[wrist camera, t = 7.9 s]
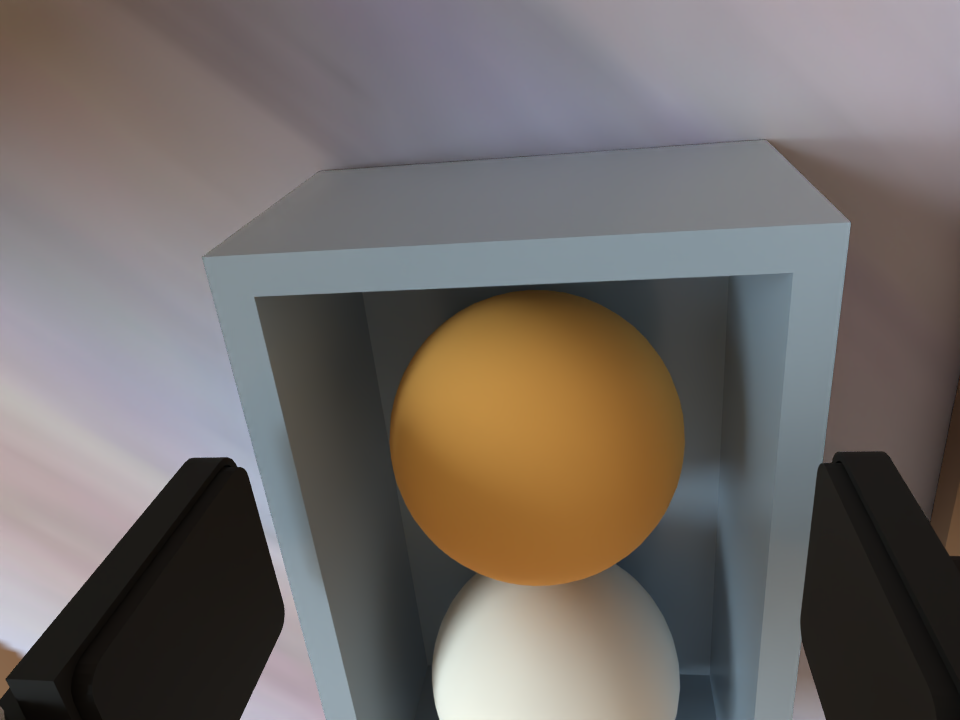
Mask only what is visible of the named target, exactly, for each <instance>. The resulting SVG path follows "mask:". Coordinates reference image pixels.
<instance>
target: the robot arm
mask: <svg viewBox="0 0 960 720" xmlns="http://www.w3.org/2000/svg"><path fill="white" fill-rule="evenodd" d="M284 615H285V613H284V604H283V600H282V596H281V593H280V589H279V585H278V582H277V578H276V575H275V571H274V567H273V564H272V560H271V556H270V553H269V549H268V546H267V542H266V538H265V535H264V531H263V528H262V524H261V520H260V517H259V513H258V510H257V506H256V502H255V499H254V495H253V491H252V488H251V484H250V481H249V477H248V474H247V472H246V471H245V469H244V468H241V467H237V466H236V463H235V462H234V461H233V460H232V459H230V458H228V457H220V458H191V459H189V460H187V461H186V462H185V463H184V464H183V465H182V467H181V468H180V469H179V470H178V471H177V473H176V474H175V475H174V476H173V478H172V479H171V480H170V481H169V482H168V484H167V485H166V486H165V487H164V488H163V490H162V491H161V492H160V493H159V494H158V496H157V497H156V498H155V499H154V500H153V502H152V503H151V504H150V505H149V506H148V508H147V509H146V510H145V511H144V513H143V514H142V515H141V516H140V517H139V519H138V520H137V521H136V522H135V523H134V525H133V526H132V527H131V528H130V529H129V531H128V532H127V533H126V534H125V535H124V537H123V538H122V539H121V540H120V541H119V543H118V544H117V545H116V546H115V548H114V549H113V550H112V551H111V552H110V554H109V555H108V556H107V557H106V558H105V560H104V561H103V562H102V563H101V564H100V566H99V567H98V568H97V569H96V570H95V572H94V573H93V574H92V575H91V576H90V578H89V579H88V580H87V581H86V582H85V584H84V585H83V586H82V587H81V589H80V590H79V591H78V592H77V593H76V595H75V596H74V597H73V598H72V599H71V601H70V602H69V603H68V604H67V605H66V607H65V608H64V609H63V610H62V611H61V613H60V614H59V615H58V616H57V617H56V619H55V620H54V621H53V622H52V624H51V625H50V626H49V627H48V628H47V630H46V631H45V632H44V633H43V634H42V636H41V637H40V638H39V639H38V640H37V642H36V643H35V644H34V645H33V646H32V648H31V649H30V650H29V651H28V652H27V654H26V655H25V656H24V657H23V659H22V660H21V661H20V662H19V664H18V665H17V666H16V667H15V668H14V669H13V671H12V672H11V673H10V674H9V676H8V677H7V678H6V681H7V683H8V685H9V687H10V688H9V689H8V690H7V692H6V693H5V694H4V695H3V697H2V698H1V699H0V720H240V718H241V716H242V714H243V711H244V709H245V707H246V705H247V703H248V701H249V699H250V697H251V694H252V692H253V690H254V688H255V686H256V684H257V682H258V680H259V678H260V675H261V673H262V671H263V669H264V667H265V665H266V663H267V661H268V658H269V656H270V654H271V652H272V650H273V648H274V646H275V644H276V641H277V639H278V637H279V635H280V633H281V630H282V628H283V623H284ZM800 629H801V637H802V643H803V647H804V650H805V653H806V657H807V660H808V663H809V666H810V669H811V673H812V676H813V679H814V682H815V685H816V689H817V692H818V695H819V698H820V701H821V705H822V708H823V711H824V714H825V718H826V720H960V556H949V554H948V552H947V551H946V549H945V547H944V546H943V544H942V542H941V541H940V539H939V537H938V536H937V534H936V533H935V531H934V529H933V528H932V526H931V524H930V523H929V521H928V519H927V518H926V516H925V515H924V513H923V511H922V510H921V508H920V506H919V505H918V503H917V501H916V500H915V498H914V497H913V495H912V493H911V492H910V490H909V488H908V487H907V485H906V483H905V482H904V480H903V479H902V477H901V475H900V474H899V472H898V470H897V469H896V467H895V465H894V464H893V462H892V460H891V459H890V457H889V456H888V455H887V454H886V453H885V452H837V453H836V454H835V455H834V457H833V460H832V463H821V464H820V465H819V467H818V470H817V477H816V485H815V494H814V503H813V511H812V520H811V529H810V537H809V546H808V555H807V563H806V572H805V581H804V589H803V598H802V607H801V615H800Z"/></svg>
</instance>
